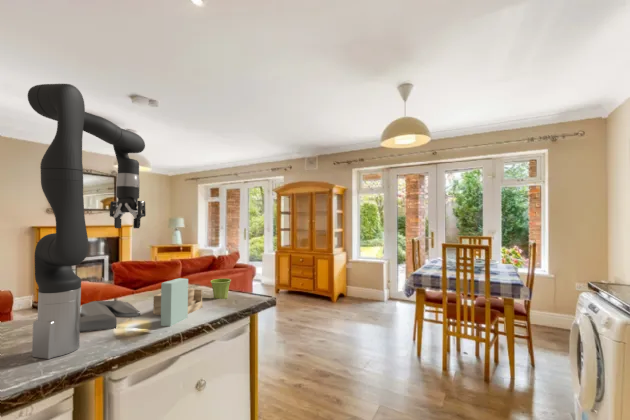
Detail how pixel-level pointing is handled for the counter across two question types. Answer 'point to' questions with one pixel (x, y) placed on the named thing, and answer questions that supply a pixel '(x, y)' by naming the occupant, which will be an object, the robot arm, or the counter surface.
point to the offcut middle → (190, 299)
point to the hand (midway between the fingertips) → (127, 228)
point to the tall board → (174, 301)
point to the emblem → (104, 314)
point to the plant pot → (220, 288)
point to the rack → (190, 309)
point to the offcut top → (190, 292)
